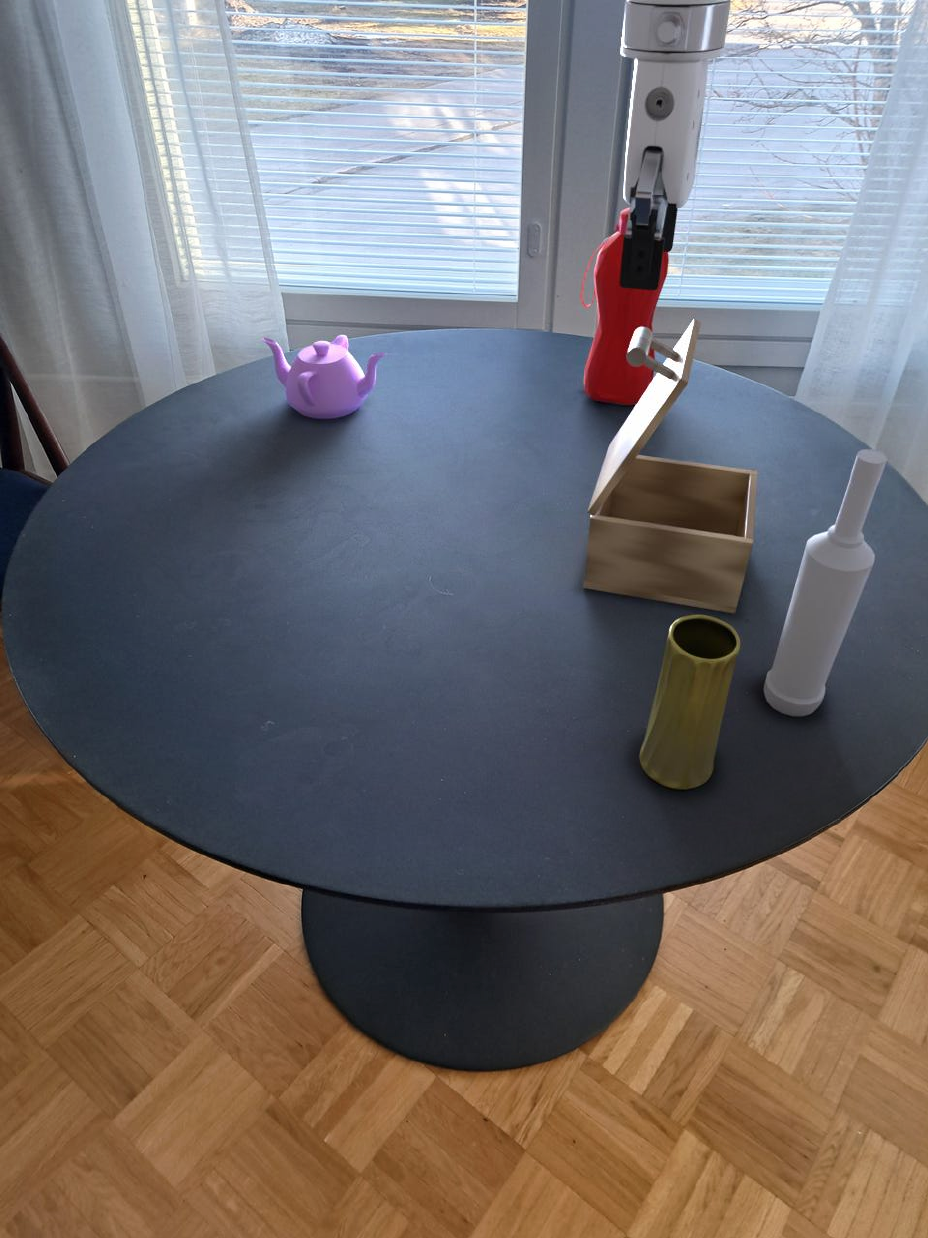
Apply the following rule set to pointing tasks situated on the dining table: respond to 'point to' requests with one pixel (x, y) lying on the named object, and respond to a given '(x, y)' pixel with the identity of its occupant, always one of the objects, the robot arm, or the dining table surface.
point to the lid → (646, 404)
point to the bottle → (825, 597)
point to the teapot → (325, 378)
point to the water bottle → (618, 326)
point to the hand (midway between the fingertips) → (646, 267)
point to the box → (674, 534)
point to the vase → (689, 702)
